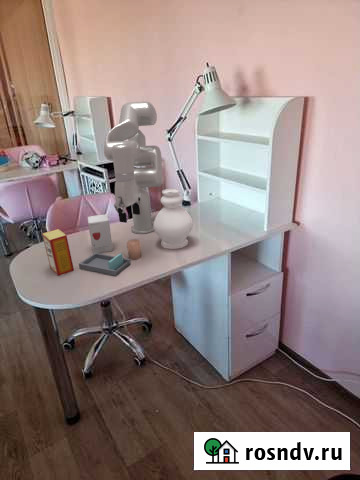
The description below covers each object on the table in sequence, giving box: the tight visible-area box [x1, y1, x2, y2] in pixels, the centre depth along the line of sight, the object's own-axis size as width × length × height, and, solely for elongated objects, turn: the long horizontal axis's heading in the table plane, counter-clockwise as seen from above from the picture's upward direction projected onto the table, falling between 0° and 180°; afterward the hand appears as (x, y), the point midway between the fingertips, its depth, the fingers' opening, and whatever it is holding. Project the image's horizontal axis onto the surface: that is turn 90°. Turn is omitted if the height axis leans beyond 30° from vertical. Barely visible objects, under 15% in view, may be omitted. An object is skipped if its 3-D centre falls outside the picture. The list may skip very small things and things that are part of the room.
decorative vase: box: [153, 188, 194, 250], centre depth 150 cm, size 18×18×25 cm
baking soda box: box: [41, 228, 75, 277], centre depth 135 cm, size 10×6×16 cm
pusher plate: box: [108, 252, 124, 270], centre depth 135 cm, size 8×1×4 cm, turn 154°
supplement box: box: [87, 213, 114, 254], centre depth 152 cm, size 9×9×15 cm
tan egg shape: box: [126, 238, 143, 261], centre depth 144 cm, size 6×6×7 cm
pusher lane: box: [78, 253, 131, 277], centre depth 138 cm, size 11×18×2 cm, turn 64°
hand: (130, 218), depth 137 cm, fingers open, 9 cm apart
